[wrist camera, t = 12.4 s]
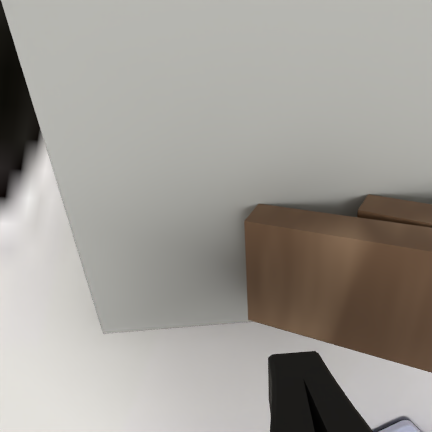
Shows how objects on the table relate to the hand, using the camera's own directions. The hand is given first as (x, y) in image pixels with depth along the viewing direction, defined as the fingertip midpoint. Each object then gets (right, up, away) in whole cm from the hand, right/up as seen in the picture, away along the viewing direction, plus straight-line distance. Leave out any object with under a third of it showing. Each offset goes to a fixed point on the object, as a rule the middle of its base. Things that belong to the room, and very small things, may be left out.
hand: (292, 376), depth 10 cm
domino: (-1, +3, +5) cm, 6 cm away
